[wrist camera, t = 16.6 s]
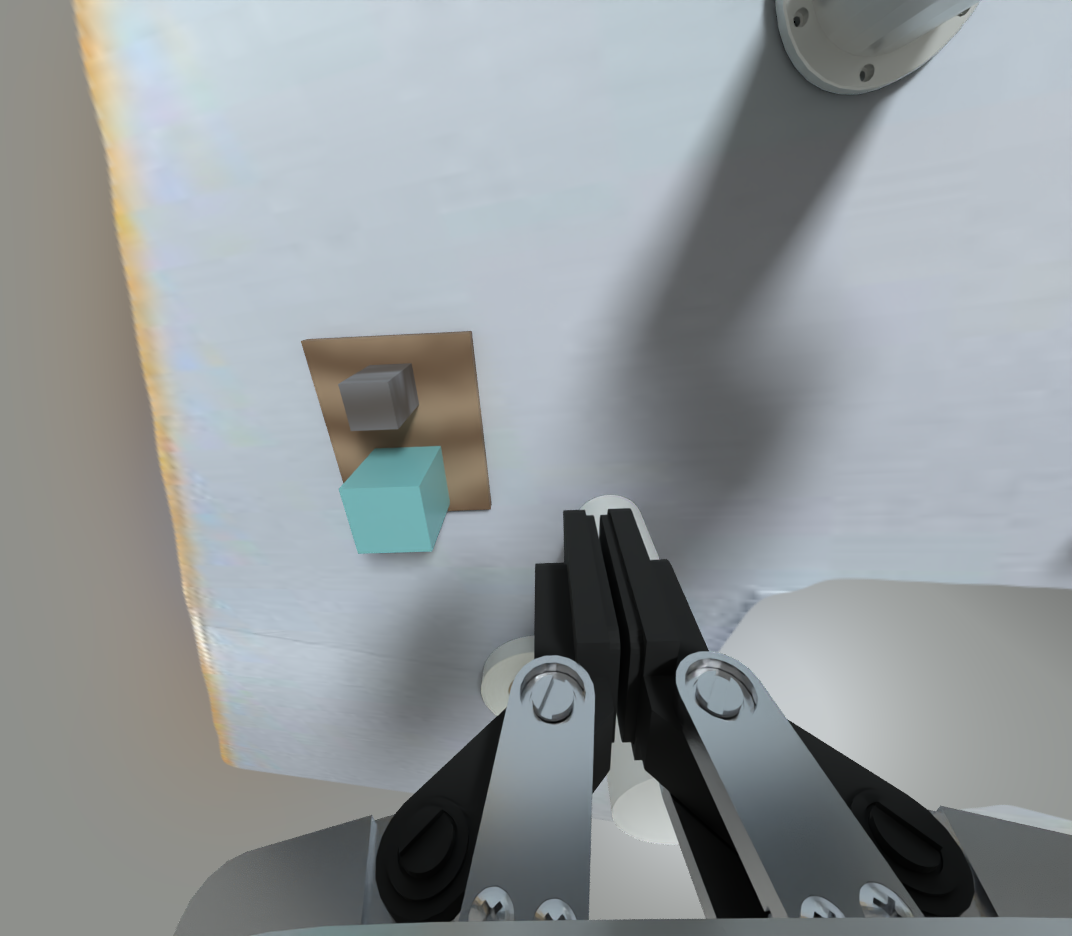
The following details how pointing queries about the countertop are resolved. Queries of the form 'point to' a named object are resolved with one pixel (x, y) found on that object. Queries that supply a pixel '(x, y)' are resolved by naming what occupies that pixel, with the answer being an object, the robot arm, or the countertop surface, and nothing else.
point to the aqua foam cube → (397, 500)
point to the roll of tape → (504, 671)
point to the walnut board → (424, 421)
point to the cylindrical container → (627, 780)
